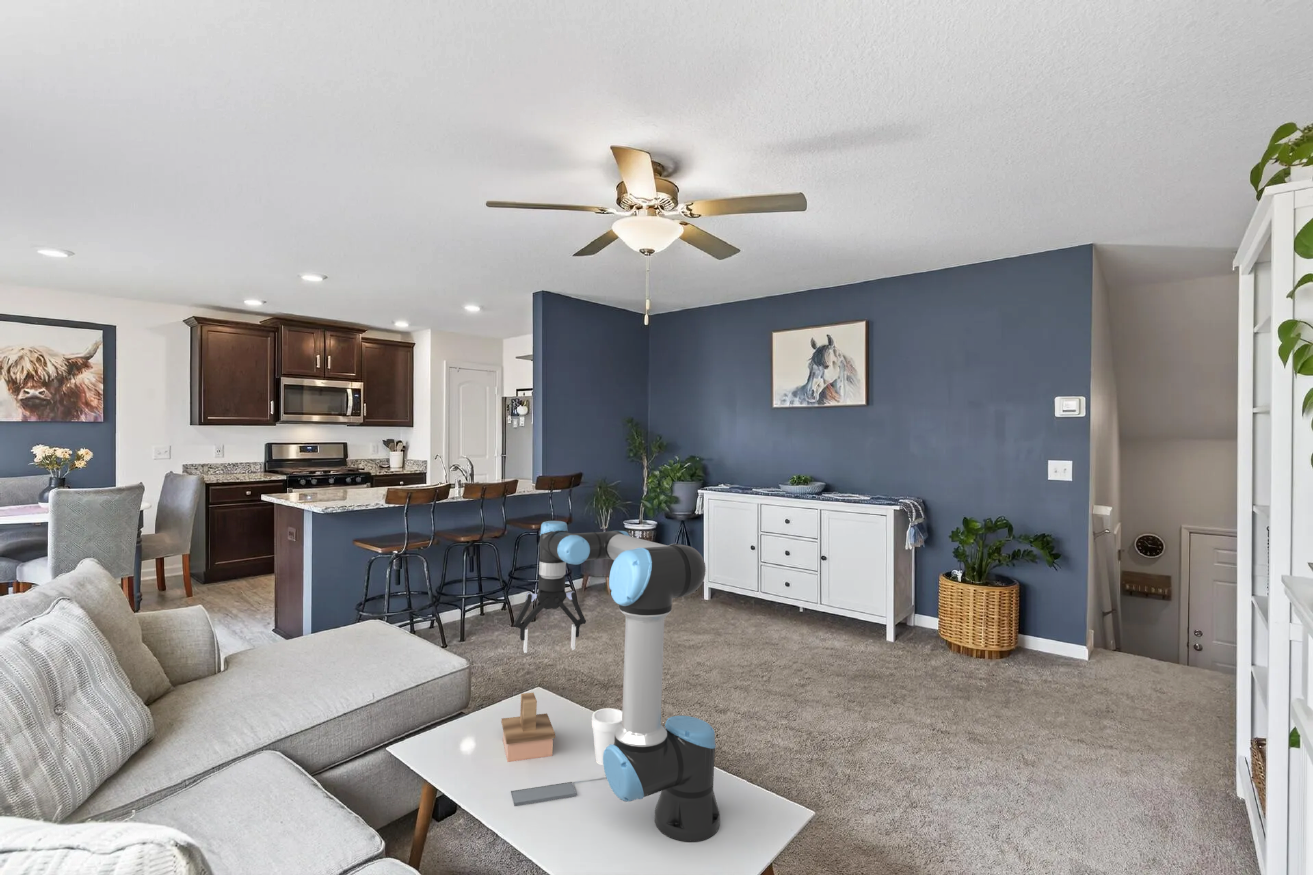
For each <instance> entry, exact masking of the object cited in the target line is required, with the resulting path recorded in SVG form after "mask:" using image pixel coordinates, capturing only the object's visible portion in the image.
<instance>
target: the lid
mask: <svg viewBox="0 0 1313 875" xmlns="http://www.w3.org/2000/svg"><path fill="white" fill-rule="evenodd" d="M537 702H538V701H537V699H536V695H535V693H534V692H526V693H521V694H520V715H519V716H512V717H503V718H501V721H500V722H501V727H502V733H503V732H504V736H505V740H506V744H513V743H521V742H529V741H537V740H545V739H553V740H554V739H556V732H555V730H554V727H553V724H552V722H551V720H550V717H549V714H548V713H547V712H546V713H539V714H537V710H538V709H537V708H538V703H537Z"/></svg>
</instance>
